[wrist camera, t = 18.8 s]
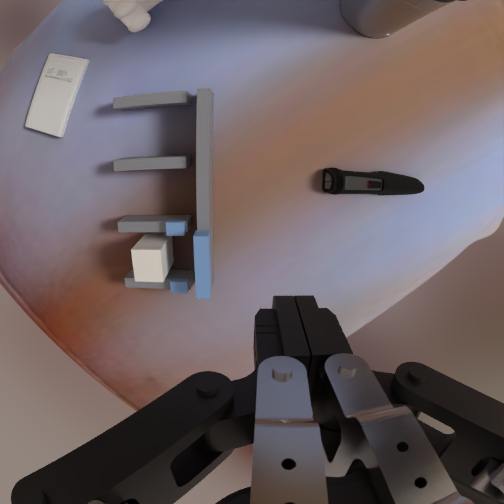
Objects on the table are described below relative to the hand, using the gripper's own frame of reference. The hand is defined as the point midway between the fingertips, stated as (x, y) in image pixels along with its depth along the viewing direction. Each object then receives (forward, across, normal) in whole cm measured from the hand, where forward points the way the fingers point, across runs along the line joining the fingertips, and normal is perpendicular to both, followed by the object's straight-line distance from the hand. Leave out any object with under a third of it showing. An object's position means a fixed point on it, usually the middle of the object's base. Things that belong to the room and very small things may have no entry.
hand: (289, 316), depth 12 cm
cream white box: (+33, +14, +10) cm, 37 cm away
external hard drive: (+34, +31, -15) cm, 48 cm away
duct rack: (+33, +12, +1) cm, 35 cm away
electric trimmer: (+33, -17, -1) cm, 37 cm away
